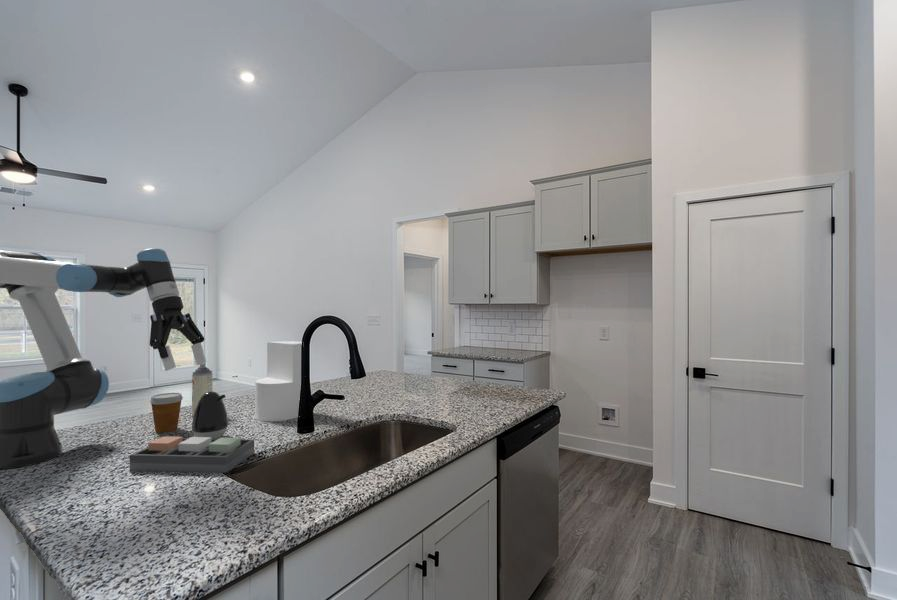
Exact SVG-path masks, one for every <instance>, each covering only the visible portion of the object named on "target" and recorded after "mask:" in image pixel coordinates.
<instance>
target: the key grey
mask: <svg viewBox="0 0 897 600" xmlns="http://www.w3.org/2000/svg"><path fill="white" fill-rule="evenodd" d="M210 443H211V437H195V436H191V437H190V438H189V439H187V440H185V441H183V442H181V443H179V444H178V451H200V450H202V449H204V448H206V447H208V446H209V444H210Z"/></svg>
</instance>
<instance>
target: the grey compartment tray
mask: <svg viewBox="0 0 897 600" xmlns="http://www.w3.org/2000/svg"><path fill="white" fill-rule="evenodd" d="M187 439H189V438H187V437H186V438H185V437H184V438H183V441H185V440H187ZM216 440H218V439H211V443H212V442H214V441H216ZM254 454H255V439H247V438H245V439H241V445H240V446H238V447H236V448H235V449H233V450H231V451H230V452H209V446H208V447H206V448H204V449H202V450H200V451H178V446H177V447H175V448H173V449H171V450H169V451H153V450H148V447H145V448H143V449H141V450H137V451H136V452H134V453H131V454H129V471H134V472H135V471H137V472H175V473H178V472H179V473H180V472H181V473H183V472H184V473H213V474H214V473H215V474H216V473H218V474H219V473H222V474H225V473H228V472H229V471H231V470H232V469H233V468H235V467H236V466H238V465H239V464H241V463H242V462H244V461H245V460H247V459H248V458H251V456H252V455H254Z"/></svg>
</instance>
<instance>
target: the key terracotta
mask: <svg viewBox="0 0 897 600" xmlns="http://www.w3.org/2000/svg"><path fill="white" fill-rule="evenodd" d="M181 442H183V436H164V435H163V436H162V437H159V438H157V439H154V440H152V441H150V442H148V450H153V451H169V450H171V449H173V448H175V447H177V446H178V444H179V443H181Z"/></svg>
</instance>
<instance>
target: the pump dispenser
mask: <svg viewBox="0 0 897 600" xmlns="http://www.w3.org/2000/svg"><path fill="white" fill-rule="evenodd" d="M225 398H226V394H219V392H216V391H213V390H212V391H210V392H207V393H205V394H203V395H202V397H201V398H200V400H199V402H198V404H197V407H196V410H195V413H194V417H192V423H191V431H192V432H193V433H192V434H193V437H211V439H219V438H223V437H224V435H225V434H226V432H227V429H228V427H229V418H228V411H227V410H226V406H225V403H224V401H223V399H225Z"/></svg>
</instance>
